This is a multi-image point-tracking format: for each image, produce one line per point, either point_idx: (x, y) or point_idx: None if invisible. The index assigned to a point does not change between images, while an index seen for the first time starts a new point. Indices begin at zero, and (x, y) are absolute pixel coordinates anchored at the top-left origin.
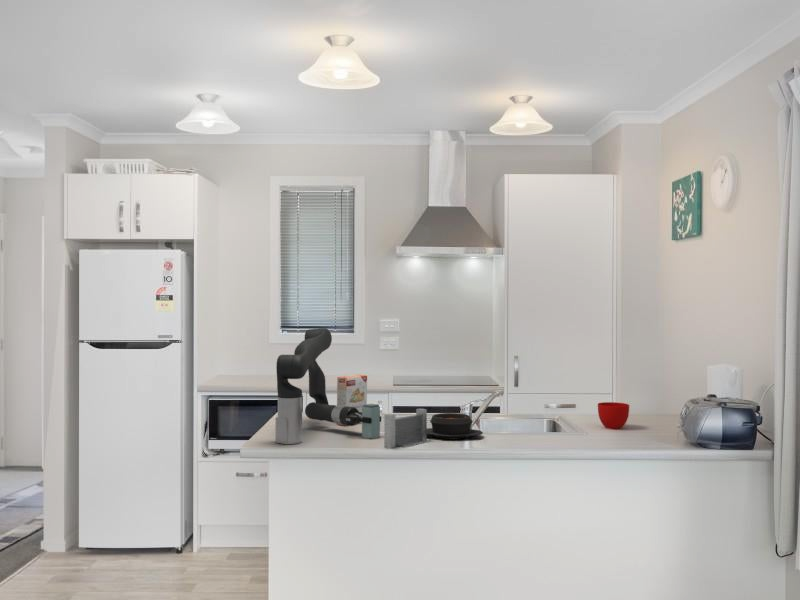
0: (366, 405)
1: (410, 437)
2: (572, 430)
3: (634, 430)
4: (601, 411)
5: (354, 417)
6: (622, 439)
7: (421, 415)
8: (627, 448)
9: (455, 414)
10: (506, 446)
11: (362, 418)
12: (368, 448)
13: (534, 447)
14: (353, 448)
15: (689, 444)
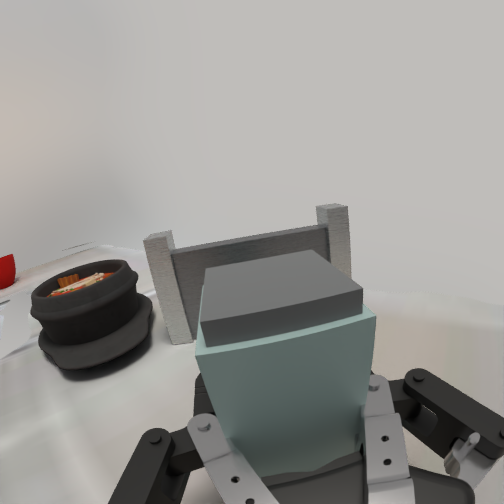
0: (337, 271)
1: None
2: (18, 291)
3: (20, 277)
4: (4, 266)
5: (446, 385)
6: (64, 265)
7: (174, 250)
8: (107, 251)
9: (37, 291)
10: (149, 269)
11: (377, 377)
12: (401, 309)
13: (139, 262)
14: (444, 315)
15: (77, 252)
